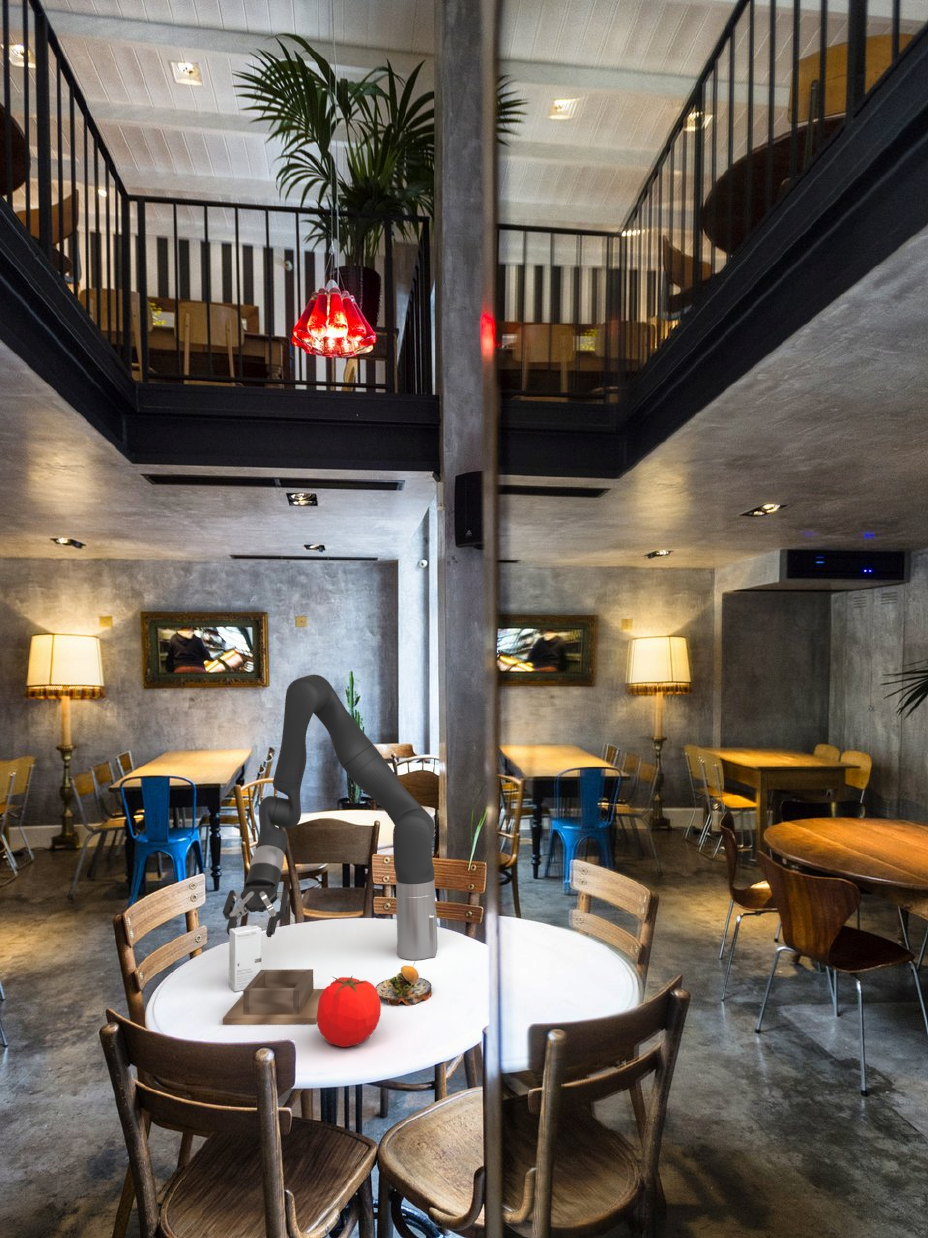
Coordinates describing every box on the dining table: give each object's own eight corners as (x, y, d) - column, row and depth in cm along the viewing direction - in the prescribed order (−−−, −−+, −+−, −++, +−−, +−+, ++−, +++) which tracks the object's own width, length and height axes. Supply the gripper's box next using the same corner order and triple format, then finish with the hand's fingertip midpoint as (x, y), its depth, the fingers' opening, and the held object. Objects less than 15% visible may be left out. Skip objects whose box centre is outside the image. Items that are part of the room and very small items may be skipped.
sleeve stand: (332, 994, 162) (331, 966, 163) (315, 1024, 148) (315, 993, 149) (246, 995, 163) (246, 967, 164) (222, 1024, 149) (222, 994, 150)
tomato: (313, 1033, 145) (312, 971, 146) (374, 1023, 148) (373, 962, 149) (322, 1062, 134) (321, 994, 134) (387, 1050, 137) (386, 985, 138)
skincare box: (234, 993, 165) (234, 934, 166) (228, 986, 169) (227, 928, 169) (262, 986, 168) (262, 928, 169) (256, 979, 172) (255, 923, 173)
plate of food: (395, 981, 170) (395, 945, 170) (442, 990, 164) (441, 953, 165) (363, 1002, 159) (362, 964, 160) (412, 1012, 153) (411, 973, 154)
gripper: (232, 861, 183) (213, 927, 170) (292, 861, 182) (277, 927, 170) (240, 879, 188) (222, 944, 175) (298, 878, 187) (284, 944, 174)
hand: (249, 935), depth 172 cm, fingers open, 8 cm apart
